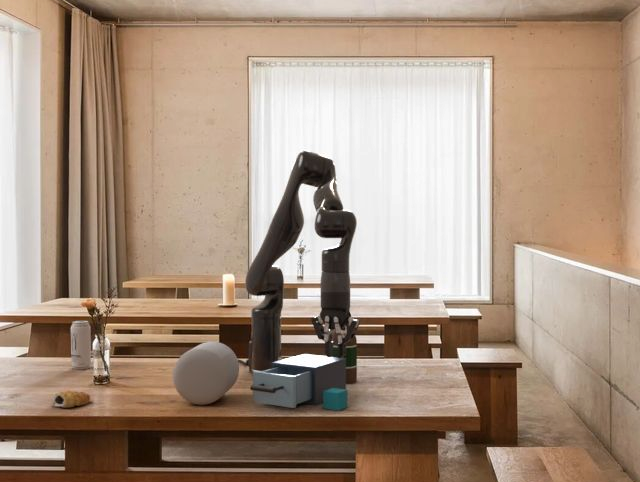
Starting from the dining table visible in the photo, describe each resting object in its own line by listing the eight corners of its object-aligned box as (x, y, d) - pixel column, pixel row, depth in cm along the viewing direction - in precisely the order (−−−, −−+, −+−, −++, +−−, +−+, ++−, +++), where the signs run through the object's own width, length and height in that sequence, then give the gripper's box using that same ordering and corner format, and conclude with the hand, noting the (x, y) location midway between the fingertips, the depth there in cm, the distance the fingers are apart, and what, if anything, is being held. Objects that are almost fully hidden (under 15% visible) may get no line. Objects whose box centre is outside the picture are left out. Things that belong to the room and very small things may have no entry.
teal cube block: (323, 408, 210) (323, 391, 210) (332, 405, 214) (332, 387, 214) (338, 410, 208) (338, 393, 207) (347, 407, 212) (347, 389, 211)
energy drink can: (67, 368, 264) (66, 321, 263) (84, 365, 269) (83, 319, 268) (78, 370, 260) (77, 323, 259) (94, 368, 265) (94, 321, 264)
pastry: (79, 399, 220) (79, 385, 220) (96, 403, 216) (96, 388, 216) (50, 406, 212) (49, 391, 212) (66, 410, 208) (66, 395, 208)
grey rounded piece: (148, 385, 215) (190, 356, 238) (185, 428, 214) (223, 394, 238) (194, 341, 208) (233, 316, 232) (233, 386, 208) (267, 355, 231)
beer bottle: (354, 384, 240) (354, 302, 238) (328, 383, 241) (328, 301, 239) (358, 379, 247) (359, 299, 246) (333, 378, 249) (333, 298, 247)
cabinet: (315, 404, 214) (315, 367, 213) (271, 398, 221) (271, 362, 221) (345, 393, 228) (346, 358, 227) (303, 388, 235) (303, 353, 234)
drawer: (282, 412, 202) (282, 380, 202) (241, 405, 209) (241, 375, 208) (324, 397, 219) (324, 367, 218) (284, 391, 225) (284, 363, 225)
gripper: (366, 289, 208) (366, 357, 209) (319, 287, 216) (319, 352, 217) (352, 292, 202) (352, 362, 203) (304, 289, 209) (304, 357, 210)
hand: (335, 356), depth 210 cm, fingers closed
